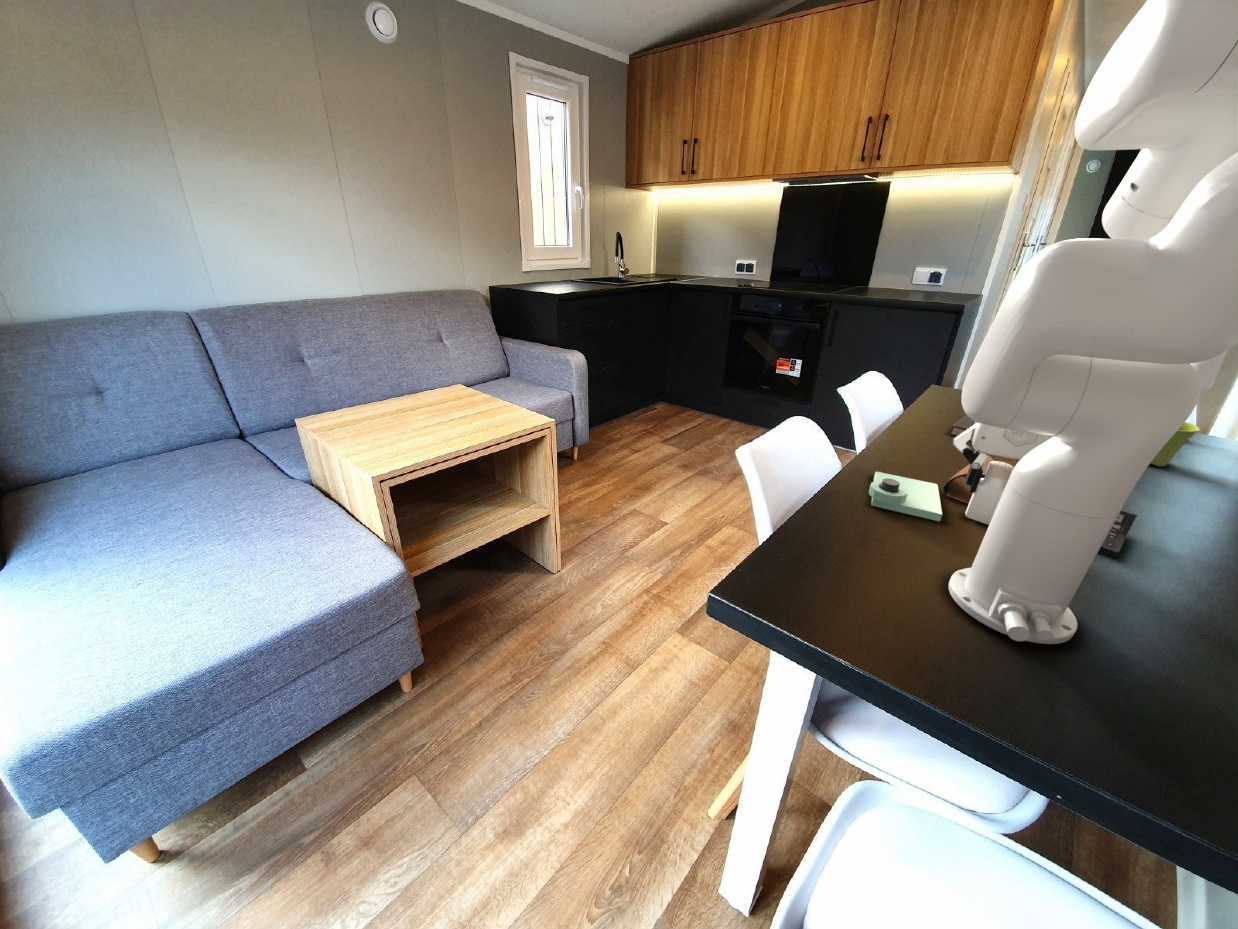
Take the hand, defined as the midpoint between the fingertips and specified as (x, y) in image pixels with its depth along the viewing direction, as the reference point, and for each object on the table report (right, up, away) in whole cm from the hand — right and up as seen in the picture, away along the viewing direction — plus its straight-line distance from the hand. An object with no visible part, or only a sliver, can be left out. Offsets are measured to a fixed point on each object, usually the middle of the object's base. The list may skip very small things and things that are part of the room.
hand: (991, 492), depth 77 cm
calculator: (+14, -6, 0) cm, 15 cm away
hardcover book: (+32, +12, +39) cm, 51 cm away
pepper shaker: (0, -5, +2) cm, 5 cm away
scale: (-9, -1, +7) cm, 12 cm away
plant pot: (+53, +5, +26) cm, 59 cm away
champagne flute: (+72, +11, +41) cm, 84 cm away
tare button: (-14, 0, +4) cm, 14 cm away
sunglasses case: (+7, 0, +12) cm, 14 cm away
